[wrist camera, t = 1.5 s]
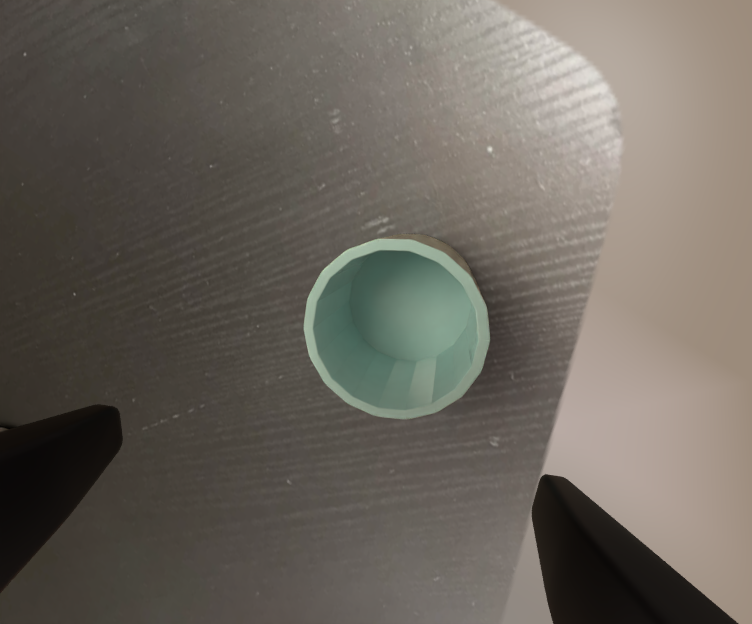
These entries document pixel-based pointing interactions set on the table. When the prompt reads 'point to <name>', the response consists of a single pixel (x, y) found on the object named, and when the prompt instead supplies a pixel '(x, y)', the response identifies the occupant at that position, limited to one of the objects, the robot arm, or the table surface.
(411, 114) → the table surface
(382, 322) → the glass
